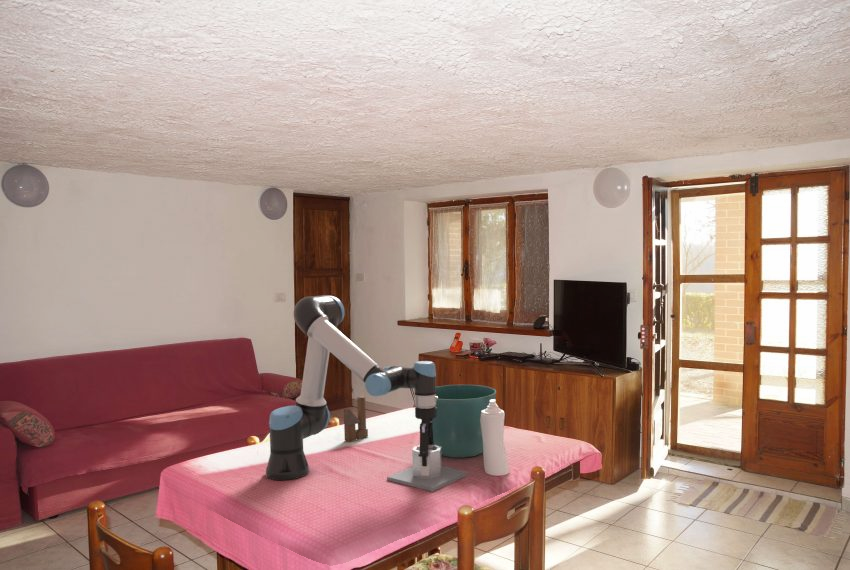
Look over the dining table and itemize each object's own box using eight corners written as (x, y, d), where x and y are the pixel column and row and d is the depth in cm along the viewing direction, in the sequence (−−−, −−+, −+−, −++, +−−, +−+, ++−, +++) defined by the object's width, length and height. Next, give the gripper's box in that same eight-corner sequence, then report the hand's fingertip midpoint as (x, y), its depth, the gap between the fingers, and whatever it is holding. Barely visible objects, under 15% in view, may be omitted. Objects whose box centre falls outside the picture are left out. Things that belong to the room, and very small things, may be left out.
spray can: (473, 471, 219) (471, 401, 218) (489, 463, 227) (487, 396, 227) (501, 477, 212) (499, 404, 211) (516, 468, 220) (515, 399, 220)
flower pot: (459, 468, 222) (457, 402, 222) (407, 452, 245) (405, 392, 245) (513, 451, 242) (511, 390, 242) (460, 437, 265) (458, 382, 264)
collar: (411, 478, 209) (410, 452, 209) (416, 469, 219) (415, 444, 218) (439, 479, 208) (438, 452, 207) (442, 469, 217) (442, 444, 217)
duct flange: (432, 491, 199) (431, 463, 199) (387, 480, 211) (386, 453, 211) (467, 475, 215) (467, 448, 214) (423, 465, 227) (422, 440, 227)
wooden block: (344, 441, 264) (343, 399, 264) (362, 435, 272) (361, 395, 272) (350, 442, 262) (348, 400, 262) (368, 437, 270) (367, 396, 270)
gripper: (432, 413, 201) (433, 481, 201) (440, 399, 223) (442, 460, 223) (409, 413, 202) (411, 480, 203) (420, 399, 224) (421, 460, 225)
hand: (427, 470), depth 213 cm, fingers closed on collar, 10 cm apart
